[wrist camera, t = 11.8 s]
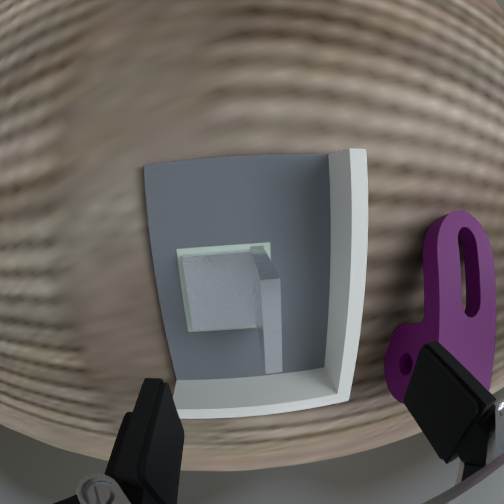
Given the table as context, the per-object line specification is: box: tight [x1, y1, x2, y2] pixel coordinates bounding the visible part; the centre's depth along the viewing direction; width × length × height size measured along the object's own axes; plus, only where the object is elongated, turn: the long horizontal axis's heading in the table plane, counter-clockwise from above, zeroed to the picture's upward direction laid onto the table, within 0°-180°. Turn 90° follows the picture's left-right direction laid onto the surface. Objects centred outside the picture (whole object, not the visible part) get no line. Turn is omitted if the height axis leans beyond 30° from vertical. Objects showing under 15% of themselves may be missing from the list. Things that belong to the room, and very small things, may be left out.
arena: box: [144, 148, 368, 419], centre depth 20 cm, size 20×15×5 cm
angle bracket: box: [182, 248, 282, 374], centre depth 18 cm, size 6×6×7 cm
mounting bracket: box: [384, 210, 496, 403], centre depth 23 cm, size 9×8×18 cm
